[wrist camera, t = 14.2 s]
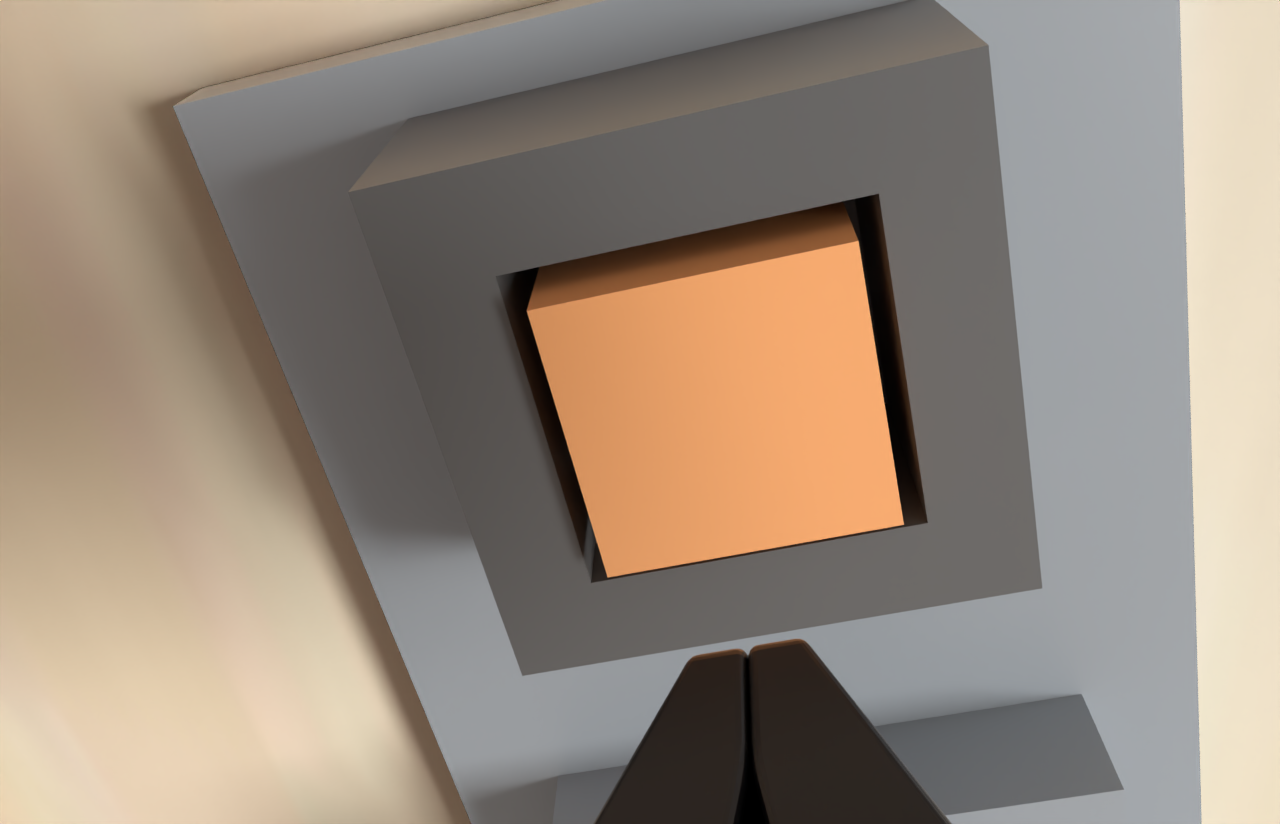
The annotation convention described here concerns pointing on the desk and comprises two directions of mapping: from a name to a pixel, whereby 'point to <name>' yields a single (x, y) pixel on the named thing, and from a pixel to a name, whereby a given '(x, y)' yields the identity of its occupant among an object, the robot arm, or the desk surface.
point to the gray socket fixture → (905, 345)
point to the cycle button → (720, 390)
